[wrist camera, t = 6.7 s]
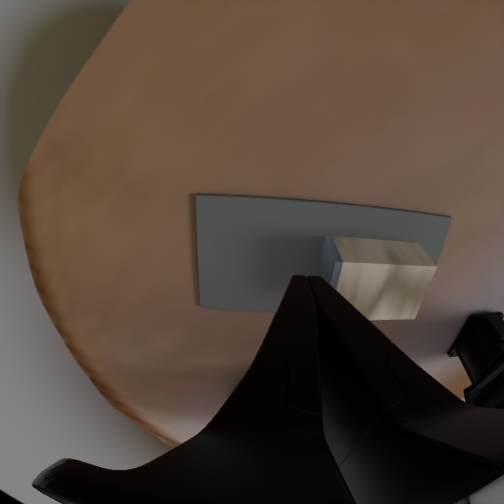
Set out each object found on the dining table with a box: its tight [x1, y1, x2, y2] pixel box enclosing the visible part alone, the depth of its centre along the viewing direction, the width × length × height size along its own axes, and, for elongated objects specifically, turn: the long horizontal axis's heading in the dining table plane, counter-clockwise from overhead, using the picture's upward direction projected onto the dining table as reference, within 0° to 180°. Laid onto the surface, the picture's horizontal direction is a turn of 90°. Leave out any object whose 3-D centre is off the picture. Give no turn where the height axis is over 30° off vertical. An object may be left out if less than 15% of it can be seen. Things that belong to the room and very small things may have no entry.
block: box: [318, 236, 437, 320], centre depth 22 cm, size 5×4×8 cm
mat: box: [196, 194, 452, 312], centre depth 23 cm, size 10×20×1 cm, turn 87°
